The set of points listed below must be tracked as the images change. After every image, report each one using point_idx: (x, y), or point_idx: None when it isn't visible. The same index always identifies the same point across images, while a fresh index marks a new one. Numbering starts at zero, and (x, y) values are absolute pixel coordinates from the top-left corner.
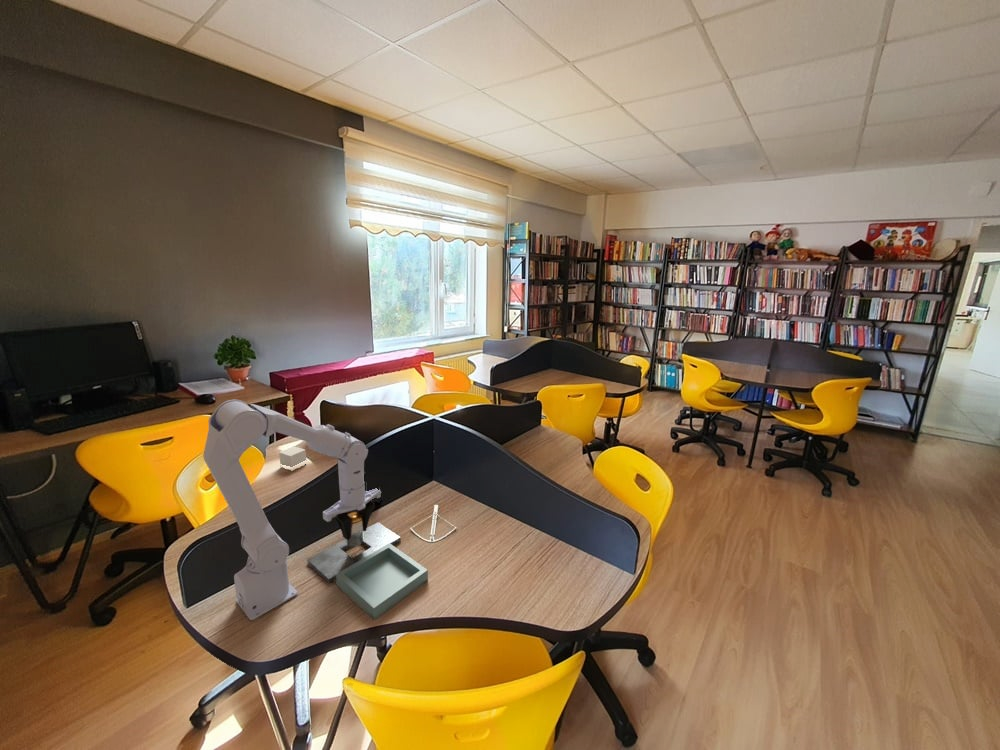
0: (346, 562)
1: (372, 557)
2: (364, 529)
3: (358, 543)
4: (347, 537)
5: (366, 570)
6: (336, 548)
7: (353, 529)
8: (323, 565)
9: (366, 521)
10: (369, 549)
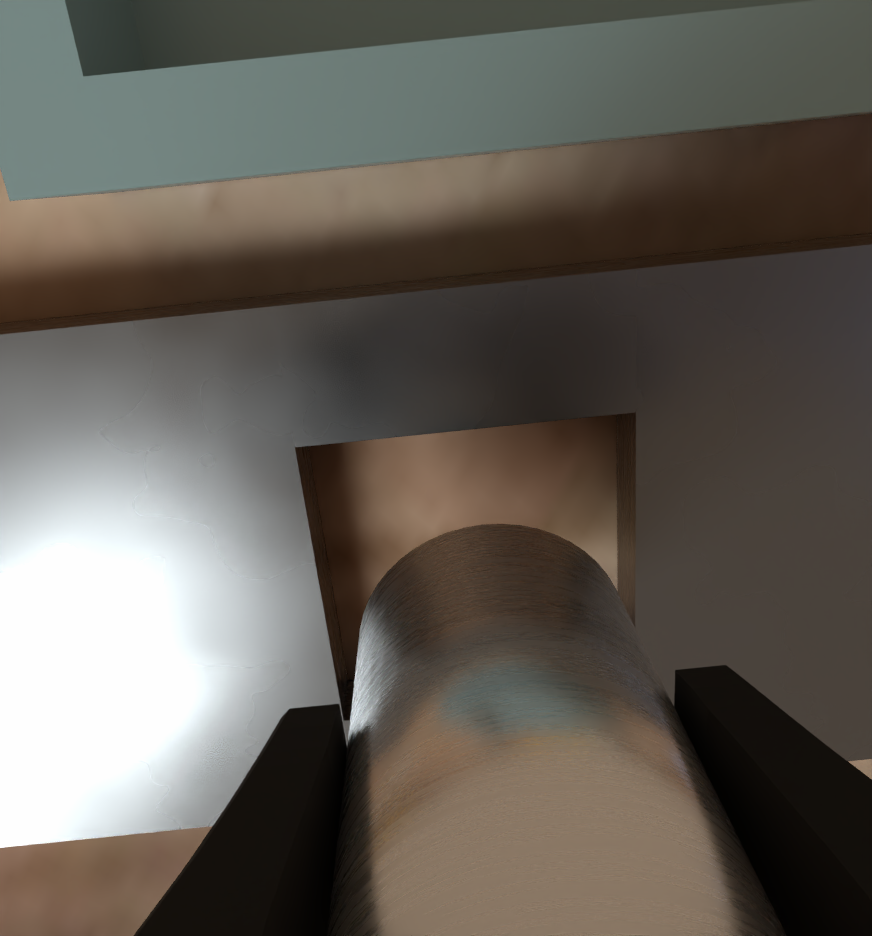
0: (745, 380)
1: (483, 40)
2: (330, 728)
3: (512, 540)
4: (766, 700)
5: (608, 20)
6: None
7: (688, 806)
8: None
9: (242, 891)
10: (348, 419)
